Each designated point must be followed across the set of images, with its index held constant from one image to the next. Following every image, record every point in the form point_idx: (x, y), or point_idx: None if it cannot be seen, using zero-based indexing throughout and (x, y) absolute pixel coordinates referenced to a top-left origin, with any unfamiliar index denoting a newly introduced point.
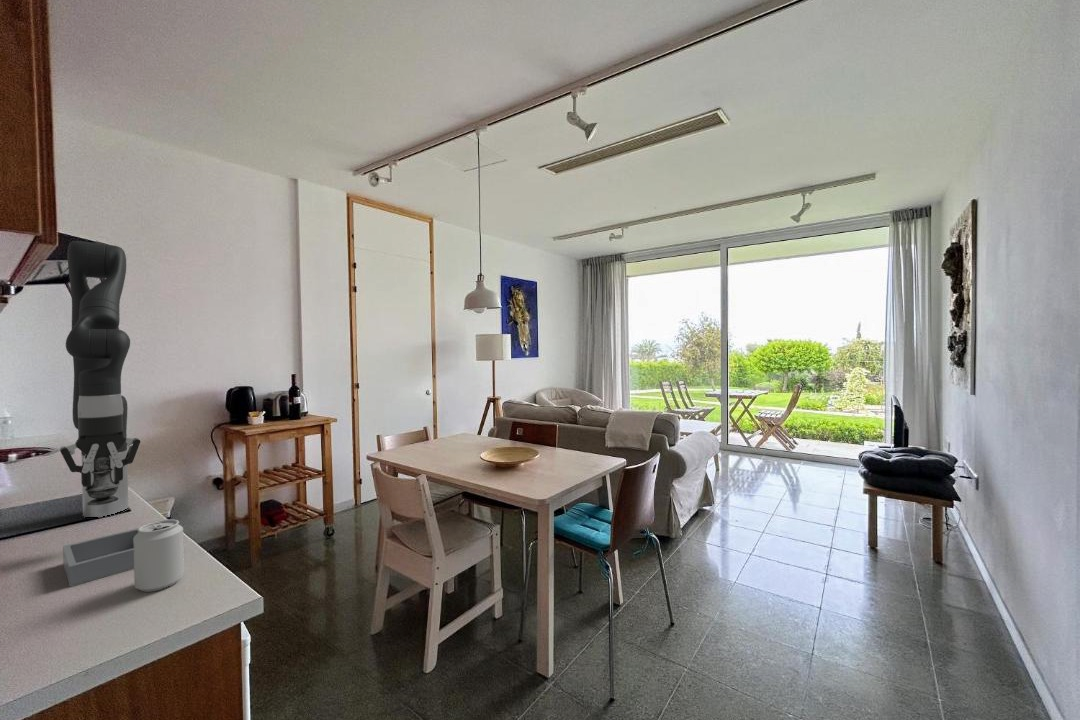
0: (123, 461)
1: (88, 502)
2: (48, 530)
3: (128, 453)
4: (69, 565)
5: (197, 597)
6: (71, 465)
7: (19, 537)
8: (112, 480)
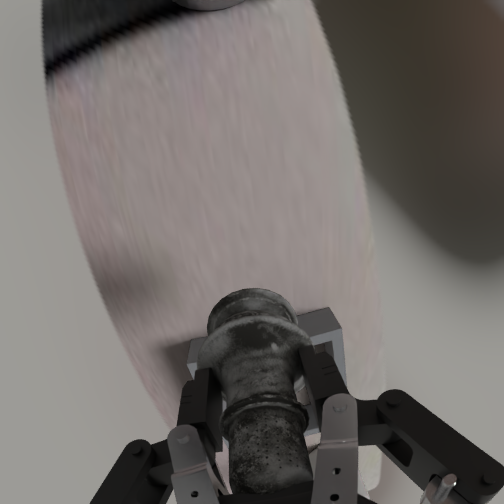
0: (365, 440)
1: (209, 328)
2: (102, 55)
3: (411, 439)
4: (228, 447)
5: None
6: (151, 499)
7: (59, 83)
8: (294, 376)
